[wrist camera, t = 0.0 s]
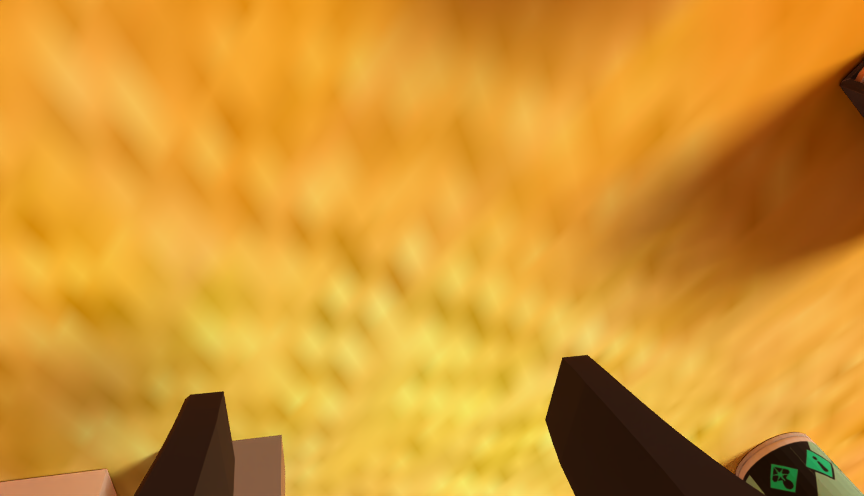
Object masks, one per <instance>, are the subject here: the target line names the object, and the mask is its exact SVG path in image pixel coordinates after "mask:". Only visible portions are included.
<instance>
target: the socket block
mask: <svg viewBox="0 0 864 496" xmlns="http://www.w3.org/2000/svg"><path fill="white" fill-rule="evenodd" d="M0 496H117V495H116V492H115V489H114V486H113V484H112V481H111V478H110V476H109V473H108V470H107V469H102V470H94V471H86V472H78V473H70V474H62V475H54V476H46V477H38V478H30V479H22V480H14V481H6V482H0Z"/></svg>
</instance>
